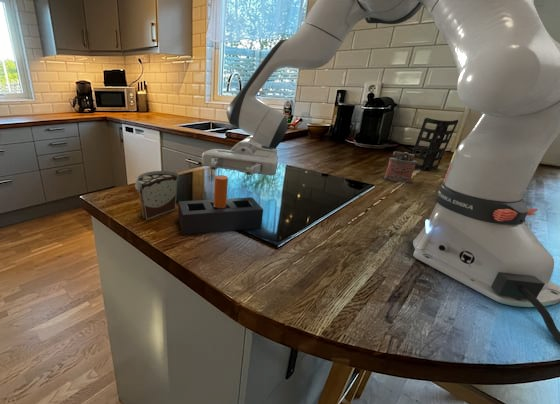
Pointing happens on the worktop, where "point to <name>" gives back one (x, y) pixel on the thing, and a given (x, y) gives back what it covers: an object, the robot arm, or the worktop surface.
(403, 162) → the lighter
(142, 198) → the food container
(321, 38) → the robot arm
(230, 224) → the pen holder
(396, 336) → the worktop surface
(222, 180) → the orange cylinder
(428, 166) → the holder
